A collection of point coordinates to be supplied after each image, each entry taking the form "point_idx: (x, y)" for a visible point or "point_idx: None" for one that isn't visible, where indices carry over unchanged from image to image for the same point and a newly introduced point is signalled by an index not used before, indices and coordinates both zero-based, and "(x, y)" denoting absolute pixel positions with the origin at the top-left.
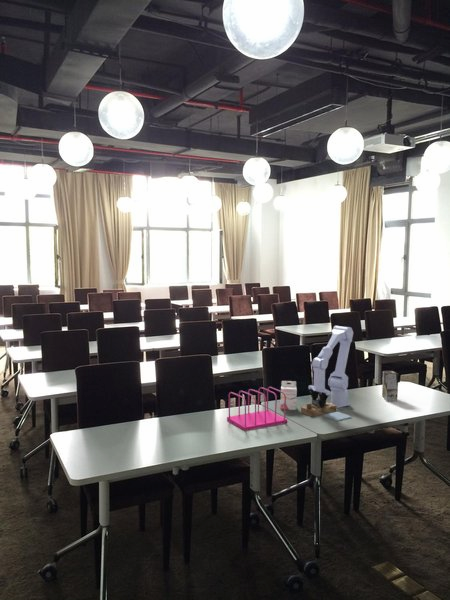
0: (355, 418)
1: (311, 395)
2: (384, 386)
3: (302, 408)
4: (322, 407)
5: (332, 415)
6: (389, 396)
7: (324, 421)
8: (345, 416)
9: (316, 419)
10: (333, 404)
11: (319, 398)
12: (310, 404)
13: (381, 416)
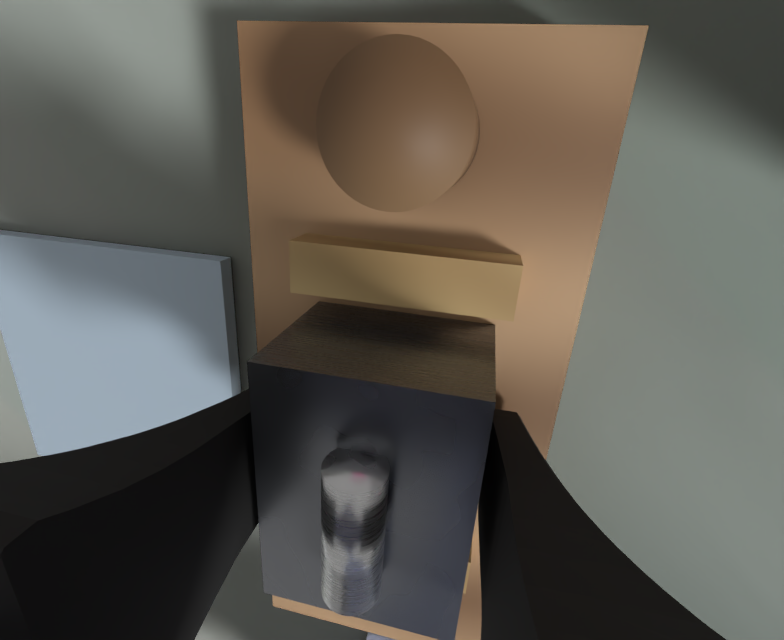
0: (26, 457)
1: (605, 560)
2: None
3: (573, 30)
4: None
5: (142, 336)
6: None
7: (22, 56)
8: (61, 418)
9: (139, 10)
10: (325, 616)
11: (323, 538)
12: (317, 110)
13: None
